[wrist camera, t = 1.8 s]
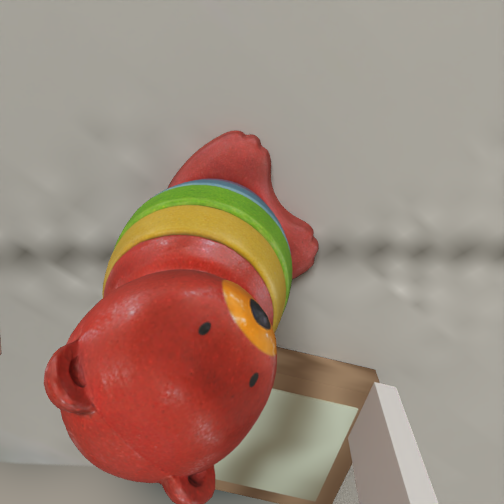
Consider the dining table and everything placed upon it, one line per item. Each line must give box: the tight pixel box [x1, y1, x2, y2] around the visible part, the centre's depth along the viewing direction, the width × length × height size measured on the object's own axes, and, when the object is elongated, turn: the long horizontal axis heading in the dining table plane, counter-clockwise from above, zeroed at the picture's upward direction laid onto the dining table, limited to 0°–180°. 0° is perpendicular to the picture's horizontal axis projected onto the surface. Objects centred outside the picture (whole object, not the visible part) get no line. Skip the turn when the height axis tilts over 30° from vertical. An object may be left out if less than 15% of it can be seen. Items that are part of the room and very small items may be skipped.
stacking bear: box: [44, 131, 318, 504], centre depth 18 cm, size 11×10×18 cm
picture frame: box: [214, 347, 379, 504], centre depth 31 cm, size 14×14×3 cm
